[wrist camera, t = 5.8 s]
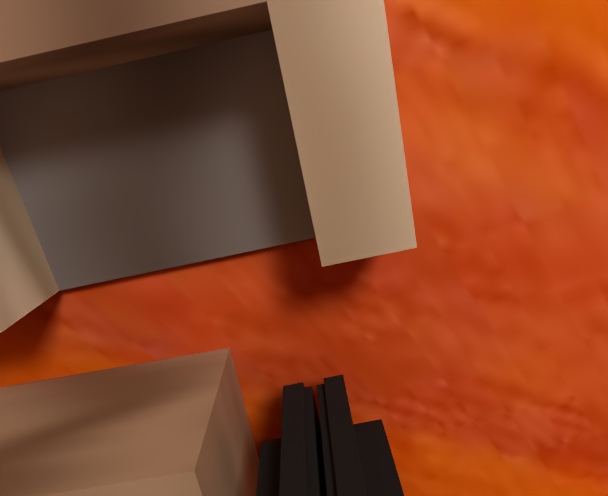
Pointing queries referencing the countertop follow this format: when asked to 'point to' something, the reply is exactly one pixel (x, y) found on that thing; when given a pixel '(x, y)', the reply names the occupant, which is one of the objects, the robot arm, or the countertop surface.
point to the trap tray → (192, 137)
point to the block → (130, 432)
